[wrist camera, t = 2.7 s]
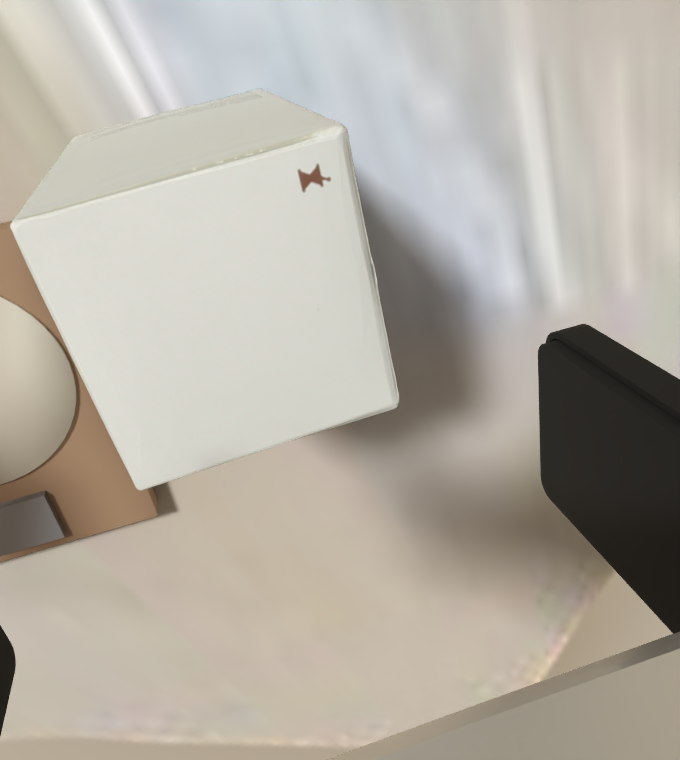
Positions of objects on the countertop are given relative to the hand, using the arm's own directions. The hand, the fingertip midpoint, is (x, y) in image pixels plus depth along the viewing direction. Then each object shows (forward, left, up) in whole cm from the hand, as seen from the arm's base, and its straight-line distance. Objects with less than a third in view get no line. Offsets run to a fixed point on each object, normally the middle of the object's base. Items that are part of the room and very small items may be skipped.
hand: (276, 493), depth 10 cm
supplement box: (0, -1, -19) cm, 19 cm away
